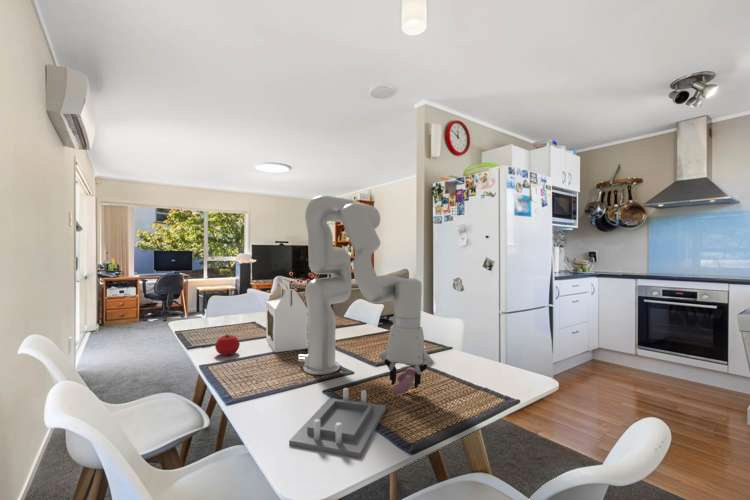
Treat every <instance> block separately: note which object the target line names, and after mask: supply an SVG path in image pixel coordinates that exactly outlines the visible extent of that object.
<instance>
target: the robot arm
mask: <svg viewBox="0 0 750 500" xmlns="http://www.w3.org/2000/svg"><path fill="white" fill-rule="evenodd" d="M306 205H307V206H306V208H305V209H306V210H305V213H304V214H305V215H304V216H305V218H304V219H305V225H306V230H307V244H308V251H307V252H308V266H309V270H310V271H311V272H312V273H313V274H316V275H328V274H330V276H329V277H318V278H315V279H312V280H310V281H309V282H308V283H307V285H306V286H305V289H304V296H305V301H306V307H307V354H302V353H300V354H298V357H297V360H298V362H303V363H304V364H303V367H302V370H303V371H304V373H307V374H309V375H315V376H316V375H317V376H318V375H330V374H333V373H335V372H338V371H339V369H340V367H341V365H340V363H339V362H338V361H336V314H335V311H334V310H333V308H332V306H331V305H335V304H340V303H344V302H346V301H348V299H349V298H350V297H351V295H352V294H351V293H352V265H351V264H352V263H351V257H350V255H349V253H348V251H347V250H346V249H345V248H342V247H341V246H340V247H339V246H338V247H336V246H334V244H333V232H332V230H331V228H330V226H329V224H328V222H335V223H342V225H343V227H344V230H345V232H346V234H347V236H348V238H349V241H350V243H351V246H352V247H353V250H354V254H355V255H354V258H353V276H354V280H355V283H356V285H357V287H358V289H359V291H360V293H361V295H362V297H363V298H364V299H365V300H366V301H367V302H369V303H371V304H379V303H384V302H390V301H394V310H393V311H394V313H393V316H389V318H388V321H389V322H392V325H391V326H390V329H389V335H388V343H387V347H386V349H384V351H382V352H381V353H380V354H379V358H380V359H381V360H382V361H383V363H384V364H385V366H387V368H388V370H389V380H390V381H391V385H392V386H395V385H396V382H397V367H396V365H397V364H401V365H402V364H403V365H409V366H414V369H415V370H416V373H415V376H414V383H413V384H414V386H413V387H414V389H418V387H419V385H421V380H422V373H423V372H424V371H426V369H427V368H429V367H430V366H431V365H433V364H434V363H433V362H434V359H433V358H432V357H431V356H430V355H429V353H428V352H427V351H426V349H425V350H424V345H425V339H424V338H425V337H424V335H425V334H424V330H423V327H422V326H421V322H422V321H421V320H422V319H421V316H422V315H421V314H422V293H423V292H422V291H423V290H422V289H423V288H422V287H423V286H422V282H421V280H419V279H416V278H406V277H405V278H404V277H400V276H398V275H390V274H389V275H381V276H379V275H377V274H376V271H375V269H374V265H373V263H372V254H373V253H374V252H376V251H377V250H378V249H379V248H380V246H381V239H380V237H379V236H378V233H377V230H375V229H377V228H378V227H379V225H380V222H381V215H380V212H379V210H378V209H377V208H376V207H375V206H373V205H370V204H366V203H362V202H359V201H356V200H353V199H349V198H344V197H343V198H342V197H337V196H330V195H317V196H315V197H313V198H312V199H310V200H309V202H308V204H306ZM424 359H425V363H423V362H424Z"/></svg>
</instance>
